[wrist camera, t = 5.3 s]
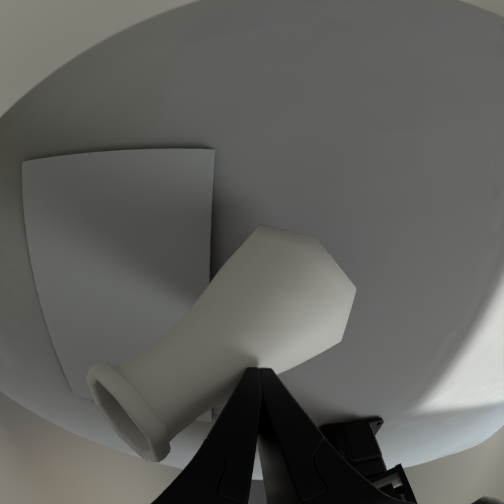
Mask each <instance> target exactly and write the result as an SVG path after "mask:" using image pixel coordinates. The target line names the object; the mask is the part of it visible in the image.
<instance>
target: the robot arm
mask: <svg viewBox="0 0 504 504" xmlns="http://www.w3.org/2000/svg"><path fill="white" fill-rule="evenodd" d="M383 422H384V421H383V419H382V418H375V419H369V420H363V421H356V422H349V423H340V424H331V425H323V426H321V427H319V429H318V428H317V427H316V426H315V424H314V423H313V422H312V420H311V419H310V418H309V417H308V415H307V414H306V413H305V412H304V410H303V409H302V408H301V406H300V405H299V404H298V402H297V401H296V400H295V399H294V397H293V396H292V395H291V393H290V392H289V391H288V389H287V388H286V387H285V385H284V384H283V383H282V381H281V380H280V379H279V377H278V376H277V375H276V373H275V372H274V371H273V369H272V368H266V367H260V368H258V367H247V368H246V369H245V371H244V373H243V375H242V377H241V379H240V380H239V382H238V384H237V386H236V387H235V389H234V391H233V393H232V395H231V396H230V398H229V400H228V402H227V403H226V405H225V407H224V409H223V410H222V412H221V414H220V415H219V417H218V419H217V421H216V422H215V424H214V426H213V427H212V429H211V431H210V432H209V434H208V436H207V438H206V439H205V440H204V442H203V444H202V445H201V447H200V448H199V450H198V451H197V453H196V454H195V456H194V457H193V459H192V460H191V461H190V462H189V464H188V465H187V466H186V467H185V469H184V470H183V471H182V472H181V473H180V474H179V475H178V477H177V478H176V479H175V480H174V481H173V482H172V483H171V484H170V485H169V486H168V487H167V488H166V489H165V490H164V491H163V492H162V494H161V495H160V496H158V498H156V500H154V501H153V502H152V503H151V504H248V500H249V493H250V487H251V480H252V473H253V466H254V459H255V452H256V444H257V441H258V448H259V454H260V461H261V468H262V474H263V481H264V487H265V494H266V500H267V504H417V501H416V499H415V496H414V494H413V491H412V489H411V486H410V484H409V482H408V479H407V477H406V475H405V472H404V470H403V468H402V465H401V463H400V464H398V465H396V466H395V467H394V468H392V469H389V470H387V469H386V466H385V463H384V460H383V458H382V453H381V450H380V447H379V445H378V442H377V440H376V437H375V435H376V433H377V432H378V430H379V429H380V427H381V426H382V424H383ZM397 484H400V486H398V487H396V488H393V486H395V485H397ZM472 504H504V503H503V502H502V501H501V500H499V499H497V498H493V497H488V496H483V497H481V498H480V499H478V500H476V501H475V502H473V503H472Z"/></svg>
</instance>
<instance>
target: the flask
mask: <svg viewBox="0 0 504 504" xmlns="http://www.w3.org/2000/svg"><path fill="white" fill-rule="evenodd" d="M355 293H356V287H355V286H354V285H353V284H352V282H351V281H350V280H349V278H348V277H347V276H346V275H345V273H344V272H343V271H342V270H341V268H340V267H339V266H338V265H337V263H336V262H335V261H334V260H333V258H332V257H331V256H330V255H329V253H328V252H327V251H326V250H325V248H324V247H323V246H322V245H321V244H320V242H319V241H318V240H317V239H316V238H312V237H308V236H305V235H301V234H297V233H293V232H289V231H285V230H281V229H277V228H273V227H269V226H265V225H261V224H260V225H259V227H258V228H257V229H256V230H255V231H254V232H253V233H252V234H251V235H250V236H249V237H248V238H247V239H246V240H245V242H244V243H243V244H242V245H241V246H240V247H239V248H238V249H237V250H236V251H235V252H234V253H233V254H232V256H231V257H230V258H229V259H228V260H227V261H226V262H225V264H224V265H223V266H222V267H221V269H220V270H219V271H218V273H217V274H216V275H215V277H214V278H213V279H212V281H211V282H210V284H209V285H208V286H207V288H206V289H205V290H204V292H203V293H202V294H201V296H200V297H199V298H198V299H197V300H196V302H195V303H194V304H193V305H192V307H191V308H190V309H189V310H188V311H187V313H186V314H185V315H184V316H183V318H182V319H181V320H180V321H179V322H178V323H177V324H176V325H175V326H173V327H172V328H171V329H170V330H169V331H168V332H167V333H165V334H164V335H163V336H162V337H161V338H160V339H159V340H157V341H156V342H155V343H154V344H153V345H152V346H150V347H149V348H147V349H145V350H144V351H142V352H140V353H138V354H137V355H135V356H133V357H132V358H130V359H128V360H126V361H125V362H123V363H120V364H118V365H115V366H111V365H110V364H109V363H108V362H101V363H97V364H95V365H93V366H92V367H90V369H89V371H88V374H87V376H86V381H87V383H88V386H89V389H90V391H91V394H92V396H93V399H94V401H95V404H96V406H97V407H98V409H99V410H100V412H101V413H102V414H103V416H104V417H105V419H106V420H107V421H108V423H109V424H110V425H111V427H112V428H113V429H114V430H115V432H116V433H117V434H118V436H119V437H120V438H121V439H123V440H124V441H125V442H126V443H127V444H128V445H129V446H130V447H131V448H132V449H133V450H134V451H135V452H136V453H138V454H139V455H140V456H141V457H142V458H143V459H144V460H146V461H153V462H160V461H161V460H163V459H164V458H166V456H167V455H168V453H169V452H170V444H169V442H170V441H171V440H172V439H173V438H174V437H175V436H176V435H177V434H178V433H179V432H181V431H182V430H183V429H184V428H186V427H187V426H188V425H189V424H191V423H192V422H193V421H194V420H195V419H197V418H198V417H199V416H200V415H202V414H204V413H205V412H207V411H209V410H211V409H212V408H214V407H216V406H217V405H219V404H221V403H222V402H224V401H225V400H227V399H229V398H230V396H231V395H232V393H233V391H234V389H235V387H236V386H237V384H238V382H239V380H240V379H241V377H242V375H243V373H244V371H245V369H246V368H247V367H258V368H260V367H266V368H272V369H273V371H274V372H275V373H276V375H277V374H280V373H282V372H284V371H286V370H289V369H291V368H293V367H295V366H297V365H299V364H301V363H303V362H305V361H307V360H308V359H310V358H312V357H314V356H316V355H318V354H320V353H321V352H323V351H325V350H327V349H329V348H330V347H332V346H334V345H336V344H337V343H339V342H341V340H342V336H343V333H344V330H345V327H346V324H347V321H348V317H349V314H350V311H351V307H352V304H353V300H354V297H355Z"/></svg>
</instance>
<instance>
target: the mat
mask: <svg viewBox="0 0 504 504" xmlns="http://www.w3.org/2000/svg"><path fill="white" fill-rule="evenodd" d="M214 163H215V149H137V150H117V151H103V152H91V153H80V154H71V155H63V156H55V157H48V158H41V159H34V160H28V161H23V162H22V195H23V209H24V220H25V228H26V236H27V243H28V249H29V255H30V261H31V266H32V271H33V276H34V280H35V285H36V289H37V293H38V297H39V301H40V305H41V308H42V312H43V315H44V319H45V322H46V325H47V328H48V331H49V334H50V337H51V340H52V343H53V346H54V348H55V351H56V354H57V356H58V359H59V362H60V364H61V367H62V369H63V371H64V374H65V376H66V378H67V381H68V383H69V385H70V387H71V389H72V392H73V394H74V395H76V396H79V397H82V398H85V399H89V400H92V401H94V399H93V396H92V394H91V391H90V389H89V386H88V383H87V381H86V376H87V374H88V371H89V369H90V367H92V366H93V365H95V364H97V363H101V362H108V363H109V364H110V365H111V366H115V365H118V364H120V363H123V362H125V361H126V360H128V359H130V358H132V357H133V356H135V355H137V354H138V353H140V352H142V351H144V350H145V349H147V348H149V347H150V346H152V345H153V344H154V343H155V342H156V341H157V340H159V339H160V338H161V337H162V336H163V335H164V334H165V333H167V332H168V331H169V330H170V329H171V328H172V327H173V326H175V325H176V324H177V323H178V322H179V321H180V320H181V319H182V318H183V316H184V315H185V314H186V313H187V311H188V310H189V309H190V308H191V307H192V305H193V304H194V303H195V302H196V300H197V299H198V298H199V297H200V296H201V294H202V293H203V292H204V290H205V289H206V288H207V286H208V285H209V284H210V261H211V226H212V201H213V180H214ZM194 421H202V422H212V409H211V410H209V411H207V412H205V413H204V414H202V415H200V416H199V417H198V418H197V419H195V420H194Z"/></svg>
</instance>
